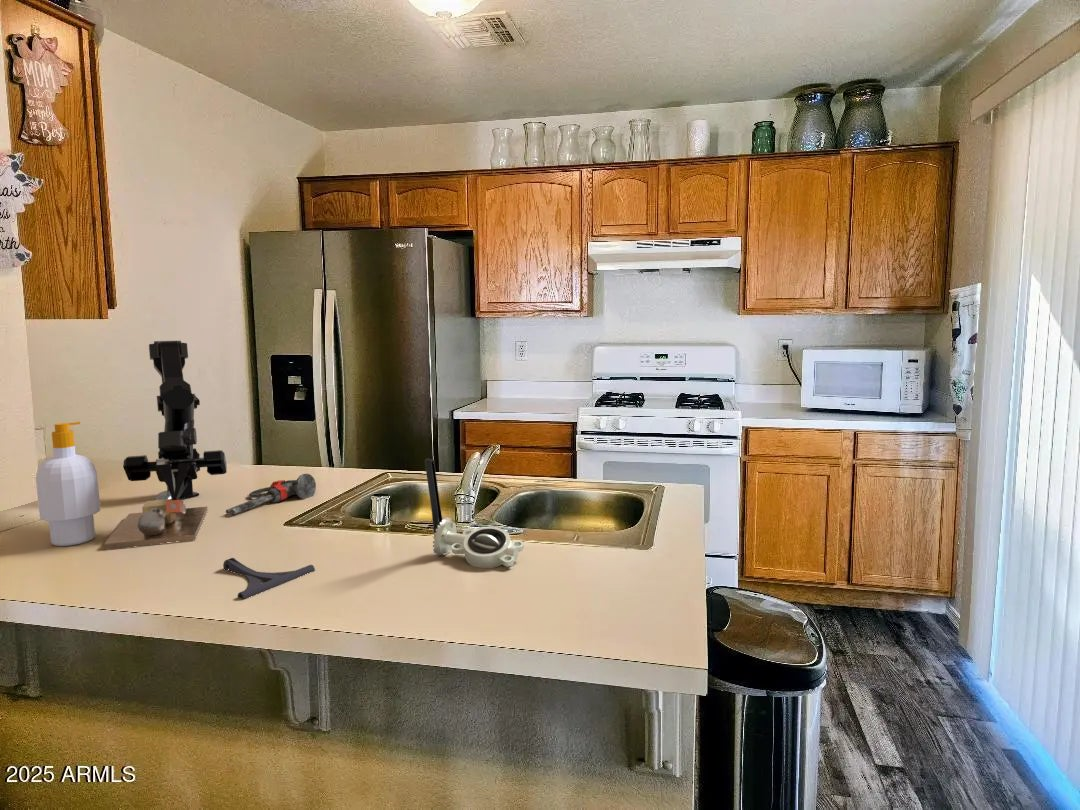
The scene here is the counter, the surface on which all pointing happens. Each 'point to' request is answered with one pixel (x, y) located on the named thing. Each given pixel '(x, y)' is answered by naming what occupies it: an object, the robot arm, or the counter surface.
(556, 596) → the counter surface
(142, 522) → the valve stand
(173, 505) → the lever
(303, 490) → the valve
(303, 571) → the dark grey squeegee
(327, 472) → the counter surface
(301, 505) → the counter surface
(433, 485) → the butterfly valve
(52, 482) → the soap bottle
